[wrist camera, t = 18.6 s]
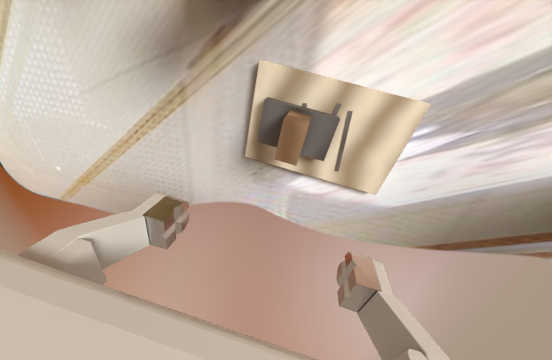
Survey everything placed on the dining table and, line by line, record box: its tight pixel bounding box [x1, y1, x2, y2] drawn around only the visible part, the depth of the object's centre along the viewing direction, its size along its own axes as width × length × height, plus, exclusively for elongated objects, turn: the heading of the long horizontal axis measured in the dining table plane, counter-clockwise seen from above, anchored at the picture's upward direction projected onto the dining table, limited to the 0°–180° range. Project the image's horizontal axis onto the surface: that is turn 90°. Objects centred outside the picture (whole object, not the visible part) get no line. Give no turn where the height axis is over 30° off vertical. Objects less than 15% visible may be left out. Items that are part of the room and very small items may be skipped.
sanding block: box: [257, 97, 340, 166], centre depth 25 cm, size 10×6×7 cm, turn 77°
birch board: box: [245, 59, 431, 195], centre depth 29 cm, size 22×14×2 cm, turn 77°
